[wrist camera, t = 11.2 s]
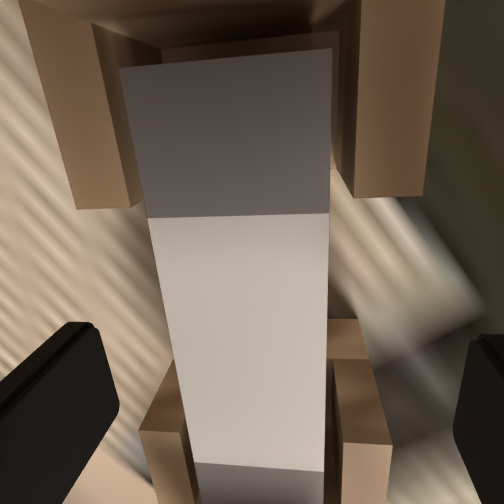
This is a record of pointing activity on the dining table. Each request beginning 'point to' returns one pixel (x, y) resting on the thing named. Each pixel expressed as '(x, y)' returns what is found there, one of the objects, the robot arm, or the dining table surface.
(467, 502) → the dining table surface
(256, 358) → the bed rail
